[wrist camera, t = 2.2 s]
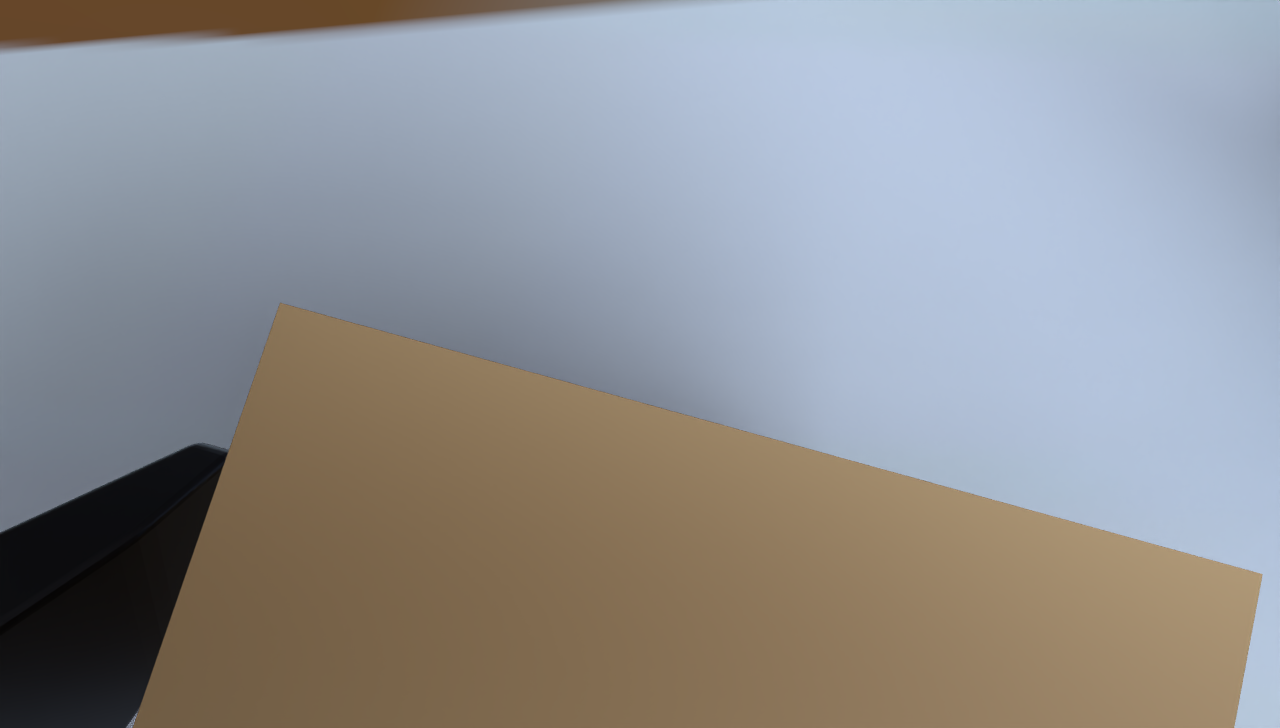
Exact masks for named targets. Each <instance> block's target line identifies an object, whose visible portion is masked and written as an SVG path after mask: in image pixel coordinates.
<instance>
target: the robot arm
mask: <svg viewBox="0 0 1280 728" xmlns="http://www.w3.org/2000/svg"><path fill="white" fill-rule="evenodd" d="M228 452H229V450H227V449H223V448H220V447H216V446H213V445H209V444H205V443H197V444H193V445H190V446H188V447H185V448H183V449H181V450H179V451H177V452H175V453H172V454H170V455H168V456H166V457H164V458H162V459H159V460H157V461H155V462H153V463H151V464H148V465H146V466H144V467H142V468H140V469H138V470H135V471H133V472H131V473H129V474H127V475H125V476H122V477H120V478H118V479H116V480H114V481H112V482H109V483H107V484H105V485H103V486H101V487H99V488H96V489H94V490H92V491H90V492H88V493H85V494H83V495H81V496H79V497H77V498H75V499H72V500H70V501H68V502H66V503H64V504H62V505H59V506H57V507H55V508H53V509H51V510H49V511H46V512H44V513H42V514H40V515H38V516H36V517H33V518H31V519H29V520H27V521H25V522H22V523H20V524H18V525H16V526H14V527H12V528H9V529H7V530H5V531H3V532H1V533H0V728H126V727H127V725H128V724H129V723H130V721H131V720H132V718H133V717H134V716H135V714H136V713H137V711H138V710H139V708H140V705H141V703H142V700H143V697H144V694H145V691H146V688H147V685H148V682H149V680H150V677H151V674H152V671H153V668H154V665H155V662H156V659H157V656H158V654H159V651H160V648H161V645H162V642H163V639H164V636H165V633H166V630H167V628H168V625H169V622H170V619H171V616H172V613H173V610H174V607H175V605H176V602H177V599H178V596H179V593H180V590H181V587H182V584H183V581H184V579H185V576H186V573H187V570H188V567H189V564H190V561H191V558H192V555H193V553H194V550H195V547H196V544H197V541H198V538H199V535H200V532H201V530H202V527H203V524H204V521H205V518H206V515H207V512H208V509H209V506H210V504H211V501H212V498H213V495H214V492H215V489H216V486H217V483H218V480H219V478H220V475H221V472H222V469H223V466H224V463H225V460H226V457H227V455H228Z"/></svg>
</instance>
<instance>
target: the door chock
mask: <svg viewBox="0 0 1280 728" xmlns="http://www.w3.org/2000/svg"><path fill="white" fill-rule="evenodd" d="M1262 575H1263V574H1260V573H1256V572H1252V571H1249V570H1245V569H1241V568H1238V567H1234V566H1231V565H1227V564H1223V563H1220V562H1216V561H1213V560H1209V559H1205V558H1202V557H1198V556H1194V555H1191V554H1187V553H1184V552H1180V551H1176V550H1173V549H1169V548H1165V547H1162V546H1158V545H1155V544H1151V543H1147V542H1144V541H1140V540H1137V539H1133V538H1129V537H1126V536H1122V535H1118V534H1115V533H1111V532H1108V531H1104V530H1100V529H1097V528H1093V527H1090V526H1086V525H1082V524H1079V523H1075V522H1071V521H1068V520H1064V519H1061V518H1057V517H1053V516H1050V515H1046V514H1042V513H1039V512H1035V511H1032V510H1028V509H1024V508H1021V507H1017V506H1014V505H1010V504H1006V503H1003V502H999V501H995V500H992V499H988V498H985V497H981V496H977V495H974V494H970V493H967V492H963V491H959V490H956V489H952V488H948V487H945V486H941V485H938V484H934V483H930V482H927V481H923V480H919V479H916V478H912V477H909V476H905V475H901V474H898V473H894V472H891V471H887V470H883V469H880V468H876V467H872V466H869V465H865V464H862V463H858V462H854V461H851V460H847V459H843V458H840V457H836V456H833V455H829V454H825V453H822V452H818V451H815V450H811V449H807V448H804V447H800V446H796V445H793V444H789V443H786V442H782V441H778V440H775V439H771V438H768V437H764V436H760V435H757V434H753V433H749V432H746V431H742V430H739V429H735V428H731V427H728V426H724V425H720V424H717V423H713V422H710V421H706V420H702V419H699V418H695V417H692V416H688V415H684V414H681V413H677V412H673V411H670V410H666V409H663V408H659V407H655V406H652V405H648V404H644V403H641V402H637V401H634V400H630V399H626V398H623V397H619V396H616V395H612V394H608V393H605V392H601V391H597V390H594V389H590V388H587V387H583V386H579V385H576V384H572V383H569V382H565V381H561V380H558V379H554V378H550V377H547V376H543V375H540V374H536V373H532V372H529V371H525V370H521V369H518V368H514V367H511V366H507V365H503V364H500V363H496V362H493V361H489V360H485V359H482V358H478V357H474V356H471V355H467V354H464V353H460V352H456V351H453V350H449V349H445V348H442V347H438V346H435V345H431V344H427V343H424V342H420V341H417V340H413V339H409V338H406V337H402V336H398V335H395V334H391V333H388V332H384V331H380V330H377V329H373V328H370V327H366V326H362V325H359V324H355V323H351V322H348V321H344V320H341V319H337V318H333V317H330V316H326V315H322V314H319V313H315V312H312V311H308V310H304V309H301V308H297V307H294V306H290V305H286V304H283V303H280V305H279V307H278V310H277V313H276V316H275V319H274V322H273V325H272V328H271V330H270V333H269V336H268V339H267V342H266V345H265V348H264V351H263V354H262V356H261V359H260V362H259V365H258V368H257V371H256V374H255V377H254V380H253V382H252V385H251V388H250V391H249V394H248V397H247V400H246V403H245V405H244V408H243V411H242V414H241V417H240V420H239V423H238V426H237V429H236V431H235V434H234V437H233V440H232V443H231V446H230V449H229V452H228V455H227V457H226V460H225V463H224V466H223V469H222V472H221V475H220V478H219V480H218V483H217V486H216V489H215V492H214V495H213V498H212V501H211V504H210V506H209V509H208V512H207V515H206V518H205V521H204V524H203V527H202V530H201V532H200V535H199V538H198V541H197V544H196V547H195V550H194V553H193V555H192V558H191V561H190V564H189V567H188V570H187V573H186V576H185V579H184V581H183V584H182V587H181V590H180V593H179V596H178V599H177V602H176V605H175V607H174V610H173V613H172V616H171V619H170V622H169V625H168V628H167V630H166V633H165V636H164V639H163V642H162V645H161V648H160V651H159V654H158V656H157V659H156V662H155V665H154V668H153V671H152V674H151V677H150V680H149V682H148V685H147V688H146V691H145V694H144V697H143V700H142V703H141V705H140V708H139V711H138V714H137V717H136V720H135V723H134V726H133V728H1234V725H1235V720H1236V715H1237V709H1238V704H1239V698H1240V693H1241V688H1242V682H1243V677H1244V671H1245V666H1246V661H1247V655H1248V650H1249V645H1250V639H1251V634H1252V628H1253V623H1254V618H1255V612H1256V607H1257V601H1258V596H1259V591H1260V585H1261V580H1262Z"/></svg>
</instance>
